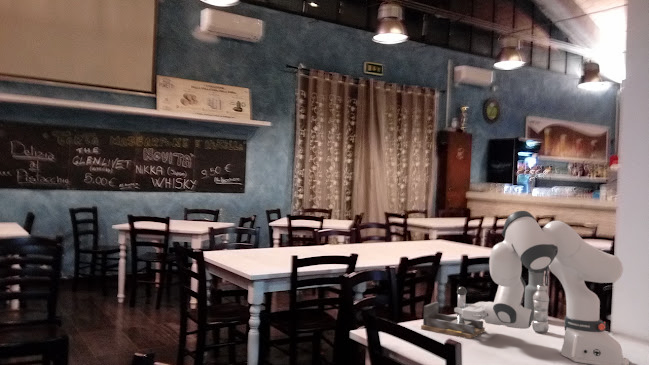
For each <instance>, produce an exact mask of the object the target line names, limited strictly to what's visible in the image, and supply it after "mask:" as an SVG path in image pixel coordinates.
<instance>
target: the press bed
mask: <svg viewBox="0 0 649 365" xmlns="http://www.w3.org/2000/svg"><path fill="white" fill-rule="evenodd" d="M439 306H440V305H439V301H434V302H431V303H429V304H426V305H424V306H423V319H422V320H423V321H422V322H423V323H422V325H421V326H420V329H421V330H425V331H429V332H433V333H434V332H435V333H437V334H438V333H439V334H444V335H449V336H454V337H459V336H460V337H459V338H464V337H465V339H469V338H470V339H469V340H472V339H473V338H475V337H477V336H479V335H480V334H482V333H483V331H484V332H485V331H486V330H485V328H486V327H484V321H483V320H472V319H465V321H470V322H472V326H471V325H466V324H460V323H455V322H451V321H453V320H456V319H457V316H456V315H449V314H443V313H439ZM481 332H482V333H481ZM478 334H479V335H478ZM476 335H477V336H476ZM474 336H475V337H474ZM471 338H472V339H471Z"/></svg>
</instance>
